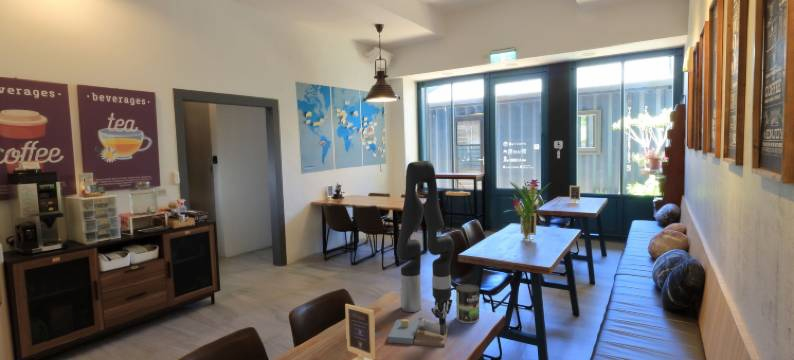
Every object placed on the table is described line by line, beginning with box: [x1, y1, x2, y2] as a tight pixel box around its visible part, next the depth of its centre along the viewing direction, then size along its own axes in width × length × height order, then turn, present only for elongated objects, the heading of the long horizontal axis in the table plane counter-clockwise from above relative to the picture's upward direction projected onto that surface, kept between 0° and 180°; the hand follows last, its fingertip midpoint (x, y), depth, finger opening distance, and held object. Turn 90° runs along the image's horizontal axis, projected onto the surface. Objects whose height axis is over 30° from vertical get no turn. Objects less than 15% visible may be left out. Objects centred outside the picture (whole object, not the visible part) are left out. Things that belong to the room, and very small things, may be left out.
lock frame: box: [387, 318, 449, 348], centre depth 173 cm, size 16×22×5 cm
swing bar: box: [417, 317, 447, 336], centre depth 170 cm, size 12×3×4 cm, turn 57°
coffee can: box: [455, 283, 480, 324], centre depth 187 cm, size 10×10×14 cm
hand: (442, 326), depth 170 cm, fingers closed
